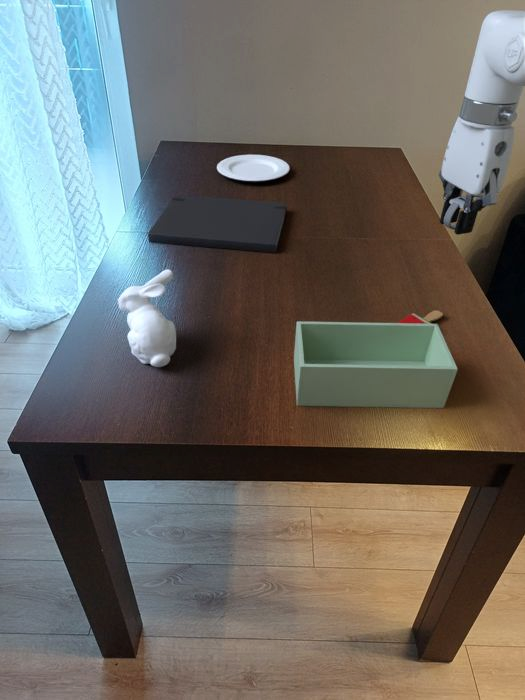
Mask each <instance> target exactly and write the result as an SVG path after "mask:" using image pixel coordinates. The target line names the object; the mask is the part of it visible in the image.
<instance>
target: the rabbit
mask: <svg viewBox="0 0 525 700" xmlns="http://www.w3.org/2000/svg"><path fill="white" fill-rule="evenodd" d="M173 279H174V273H173V271H172V270H171V269H164V270H163V271H161V272H160V273H159V274H157V275H156V276H154V277H153V278H151V279H149V281H147V282H146V283H145V284H144V285H131V286H129V287H127V288H126V289H124V291H122V293H121V294H120V296H119V298H118V299H117V304H118V308H119V310H120V311H122V312H127V315H126V317H127V318H126V322H127V325H128V328H129V329H130V330H129V331H128V333H127V336H126V337H127V340H128V343H129V347H130V349H131V354H132V355H133V356H134V357H136V358H137V359H138V360H139V362H141V364H143V365H148V364H150V365H151V366H152V367H154V368H163V367H165V366H167V365H168V364H169V363H170V362H171V357H172V356H173V355H174V354H175V351H176V349H177V332H176V330H177V329H176V326H175V324H174V322H173V321H171V320H168V319H167V318H166V317H165V315H164V314H162V312H161V311H160V310H159V308H158V306H157V305H155V304H154V303H153V302H152V301H151V298H153V299H155V298H159V297H162V296H163V295H164V294H165V293H166V291H167V288H166V286H165V285H167V284H168V283H169V282H171V281H172V280H173Z"/></svg>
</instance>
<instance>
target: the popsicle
mask: <svg viewBox="0 0 525 700" xmlns="http://www.w3.org/2000/svg"><path fill="white" fill-rule="evenodd" d="M443 315H444V313H443V312H441V311H440V310H438V309H437V310H432V311H431V312H430V311H429V312H428V313H427V315H425V316H424V317H422V316H420V315H418V314H417V313H415V312H412V313H411V314H409V315H408V316H406V317H405V318H403V319H401V320H400V321H398V322H397V323H415V324H433V323H432V322H436V321H437V320H439V319H441V318H443Z"/></svg>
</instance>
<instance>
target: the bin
mask: <svg viewBox="0 0 525 700" xmlns="http://www.w3.org/2000/svg"><path fill="white" fill-rule="evenodd" d="M293 351H294V352H293V367H294V369H293V370H294V382H295V383H294V384H295V385H294V386H295V396H296V406H297V407H344V408H345V407H346V408H347V407H349V408H350V407H351V408H352V407H353V408H355V407H356V408H407V409H409V408H412V409H415V408H416V409H444V408H445V406H446V403H447V401H448V398H449V395H450V391H451V390H452V386H453V383H454V381H455V378H456V375H457V373H458V366H457V364H456V362H455V360H454V358H453V356H452V353H451V351H450V348H449V346H448V344H447V342H446V340H445V337H444V335H443V333H442V331H441V328H440V326H439V323H432V324H415V323H398V322H356V321H355V322H353V321H351V322H350V321H349V322H348V321H344V322H343V321H301V320H300V321H296V326H295V340H294V350H293Z"/></svg>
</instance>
